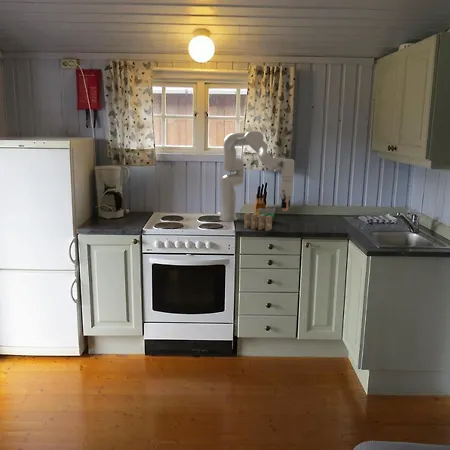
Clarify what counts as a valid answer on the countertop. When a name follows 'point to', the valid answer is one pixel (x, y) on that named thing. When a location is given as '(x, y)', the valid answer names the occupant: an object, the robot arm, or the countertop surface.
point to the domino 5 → (286, 205)
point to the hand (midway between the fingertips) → (285, 207)
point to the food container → (267, 212)
